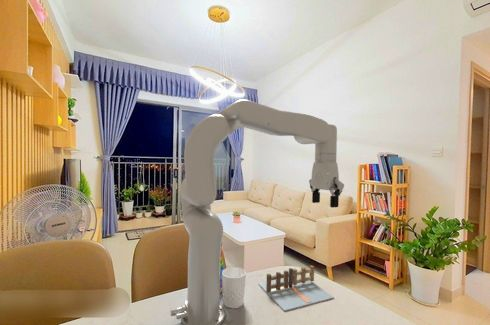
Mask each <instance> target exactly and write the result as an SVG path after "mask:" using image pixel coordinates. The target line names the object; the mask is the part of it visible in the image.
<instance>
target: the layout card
mask: <svg viewBox="0 0 490 325" xmlns="http://www.w3.org/2000/svg"><path fill="white" fill-rule="evenodd" d="M299 278H301V275H297V279H299ZM288 281H289V277H288ZM281 282H284V278H281ZM275 283H276V280H271V284H275ZM266 284H267V281H264V282H259V283H258V286H260V288H261V289H262V290H263V291H264V292H265V293H266V294H267V296H269V297H270V298H271V299H272V300H273V302H274V303H275V304H277V305H278V306H279V308H280V309H281V310H282V311H283V312H285V313H286V312H289V311H292V310H295V309H299V308H304V307H307V306H311V305H315V304H318V303H323V302H325V301H329V300H333V299H335V297H334V296H333V295H331V294H330V293H328V291H326V290H324V289H323V288H321V287H320V286H319V285H317V284H316V283H315V282H314V281H305V283H302V282H301V283H297V285H293V284H292V287H289V285H288V288H286V289H285V288H284V286H282V287H280V290H277V289H276V288H273V289H271V292H269V293H268V292H267V291H266Z"/></svg>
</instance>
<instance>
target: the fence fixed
mask: <svg viewBox="0 0 490 325" xmlns="http://www.w3.org/2000/svg"><path fill="white" fill-rule="evenodd" d="M293 269H294V268H291V267H290V268H289V267H288V270H284V271H283V273H281V272H280V271H276V272H275V275H274V274H273V275H272V274H271V273H267V274H266V282H267V284H266V291H267V292H268V293H269V292H271V289H273V288H276V289H277V290H280V287H282V286H284V288H285V289H286V288H288V285H289V287H292V281H293ZM288 277H289V281H288ZM283 278H284V282H281V279H283ZM273 280H276V283H275V284H271V281H273Z"/></svg>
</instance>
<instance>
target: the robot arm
mask: <svg viewBox="0 0 490 325" xmlns="http://www.w3.org/2000/svg"><path fill="white" fill-rule="evenodd" d="M241 128H245V129H249V130H253V131H257V132H260V133H264V134H267V135H270V136H274V137H275V136H277V137H278V136H279V137H284V136H285V137H288V136H289V137H293V138H294V141H296V142H297V143H298V144H301V145H311V144H312V145H313V144H314V145H315V146H314V162H313V164H312V169H311V178H310V179H309V180H308V183H309V188H310V191H311V193H312V194H311V195H312V196H311V198H312V199H311V202H312V203H313V204H319V203H320V201H321V192H320V191H321V190H324V191H329V192H330V198H329V199H330V200H329V202H330V204H329V207H330V208H338V207H339V198H340V196H341V194H342V192H343V190H344V187H345V184H344V183H343V182H342V181H340V178H339V175H340V174H339V166H338V162H337V154H338V153H337V152H338V151H337V149H338V148H337V147H338V146H337V145H338V144H337V143H338V137H337V136H338V128H337V126H336V125H335V124H329V123H328V122H327V121H325V120H324V119H321V118H319V117H317V116H314V115H313V116H312V115H310V114H305V113H299V112H292V111H285V110H279V109H276V108H273V107H270V106H268V105H265V104H261V103H258V102H256V101H253V100H250V99H249V100H248V99H239V100H237V101H235V102H233V103H231V104H230V105H228V106H226V107H224V108H223V109H222V110H220V111H218V112H216V113H214V114H211V115H208V116H207V117H204V119H202V120H200V121H199V122H198V123H197V124H196V125H195V126H194V128H193V129H192V130H191V132H190V133H189V135H188V137H187V140H186V142H185V145H184V146H185V147H184V157H183V158H184V174H185V177H184V178H183V180H182V182H181V184H180V190H179V192H180V202H181V204H180V205H181V212H182V214H181V215H182V221H183V225H184V228H185V230H186V231H187V233H188V235H189V243H188V244H189V245H188V251H187V252H188V253H187V296H186V297H187V300H184V304H181V306H179V307H173V308H170V317H174V316H175V320H181V322H182V323H181V324H182V325H221V324H222V323H223V322H224V320H225V316H226V313H225V309H224V308H223V306H222V305H220V303H221V302H220V301H221V293H220V258H221V256H222V255H221V251H222V247H221V244H222V245H223V238H224V226H223V223H222V220H221V218H219V216H218V215H217V214H216V213H214V212H213V211H212V208H211V205H212V204H213V203H214V202H215V201H216V199H217V193H218V192H217V183H216V174H215V173H216V172H215V153H216V150H217V148H218V146H219V145H220V144H221V143H223V142H224V141H225V140H226V139H227V138H228V136H229V135H230V134H232V133H234V132H236V131H238V129H241Z"/></svg>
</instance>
